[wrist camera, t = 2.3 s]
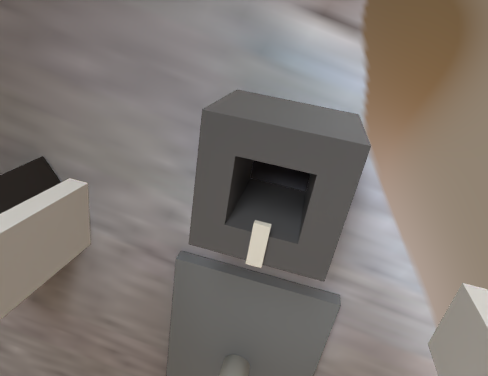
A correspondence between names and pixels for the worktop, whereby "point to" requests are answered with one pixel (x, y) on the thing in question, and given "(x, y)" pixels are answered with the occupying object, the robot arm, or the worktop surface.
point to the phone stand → (25, 183)
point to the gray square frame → (271, 195)
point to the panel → (244, 322)
